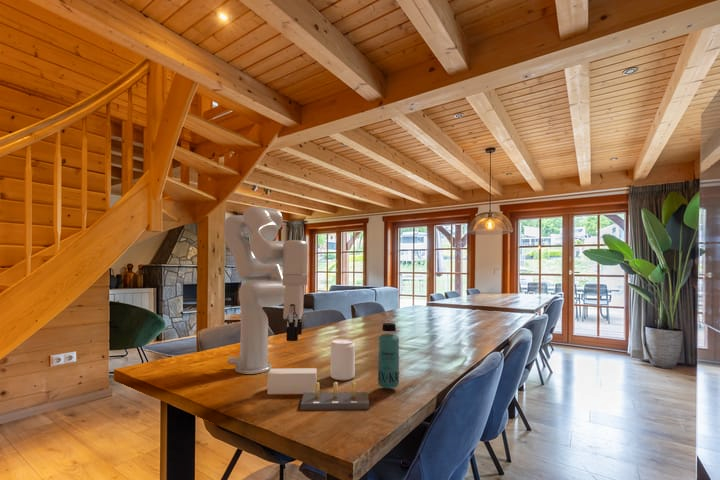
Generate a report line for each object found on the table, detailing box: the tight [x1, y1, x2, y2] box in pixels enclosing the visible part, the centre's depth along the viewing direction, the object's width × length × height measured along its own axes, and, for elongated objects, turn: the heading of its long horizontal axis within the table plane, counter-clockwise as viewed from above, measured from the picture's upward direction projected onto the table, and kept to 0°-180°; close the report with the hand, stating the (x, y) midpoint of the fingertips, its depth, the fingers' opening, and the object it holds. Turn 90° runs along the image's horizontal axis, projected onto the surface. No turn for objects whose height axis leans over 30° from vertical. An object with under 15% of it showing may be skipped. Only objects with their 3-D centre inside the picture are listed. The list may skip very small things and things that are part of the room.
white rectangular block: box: [266, 367, 318, 395], centre depth 106 cm, size 14×5×6 cm, turn 93°
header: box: [300, 381, 370, 411], centre depth 97 cm, size 18×8×6 cm, turn 93°
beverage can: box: [330, 338, 356, 382], centre depth 119 cm, size 8×8×12 cm
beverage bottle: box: [377, 322, 400, 389], centre depth 108 cm, size 6×7×20 cm
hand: (294, 337), depth 107 cm, fingers open, 9 cm apart
